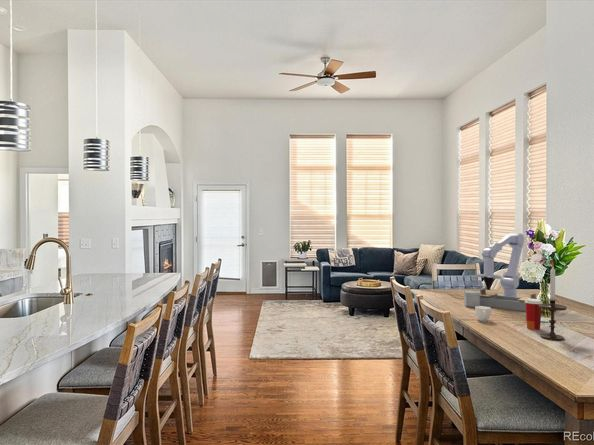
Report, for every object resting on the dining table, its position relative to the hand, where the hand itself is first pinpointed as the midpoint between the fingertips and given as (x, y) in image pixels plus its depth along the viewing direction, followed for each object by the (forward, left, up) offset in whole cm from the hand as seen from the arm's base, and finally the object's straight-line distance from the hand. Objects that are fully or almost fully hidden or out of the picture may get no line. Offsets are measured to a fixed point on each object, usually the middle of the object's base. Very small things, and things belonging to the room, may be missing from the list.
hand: (488, 289), depth 282 cm
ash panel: (0, +23, -4) cm, 23 cm away
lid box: (0, +11, -9) cm, 14 cm away
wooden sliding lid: (0, -1, -4) cm, 4 cm away
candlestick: (+63, +49, -9) cm, 80 cm away
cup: (+49, +14, -9) cm, 52 cm away
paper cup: (+50, +38, -9) cm, 64 cm away
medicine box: (+14, -5, -9) cm, 18 cm away
